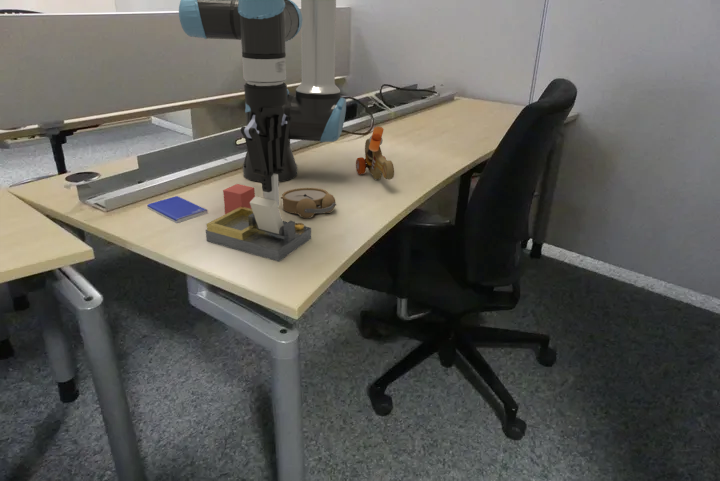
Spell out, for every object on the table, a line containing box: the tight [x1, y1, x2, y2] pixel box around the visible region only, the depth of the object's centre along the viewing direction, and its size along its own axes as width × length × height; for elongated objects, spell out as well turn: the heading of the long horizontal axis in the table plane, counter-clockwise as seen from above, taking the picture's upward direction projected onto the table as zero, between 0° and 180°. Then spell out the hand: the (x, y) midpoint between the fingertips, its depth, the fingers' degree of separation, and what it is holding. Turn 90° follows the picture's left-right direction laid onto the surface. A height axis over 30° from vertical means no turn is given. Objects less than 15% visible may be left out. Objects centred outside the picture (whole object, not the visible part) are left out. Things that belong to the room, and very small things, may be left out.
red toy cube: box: [222, 183, 256, 215], centre depth 120 cm, size 5×5×6 cm
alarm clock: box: [280, 187, 337, 219], centre depth 124 cm, size 11×5×15 cm
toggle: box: [250, 195, 284, 236], centre depth 103 cm, size 2×6×8 cm, turn 62°
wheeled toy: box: [355, 125, 395, 180], centre depth 142 cm, size 8×21×14 cm, turn 16°
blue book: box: [147, 195, 209, 224], centre depth 121 cm, size 2×8×12 cm
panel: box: [205, 207, 312, 262], centre depth 108 cm, size 12×18×6 cm, turn 63°
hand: (271, 205), depth 103 cm, fingers closed
